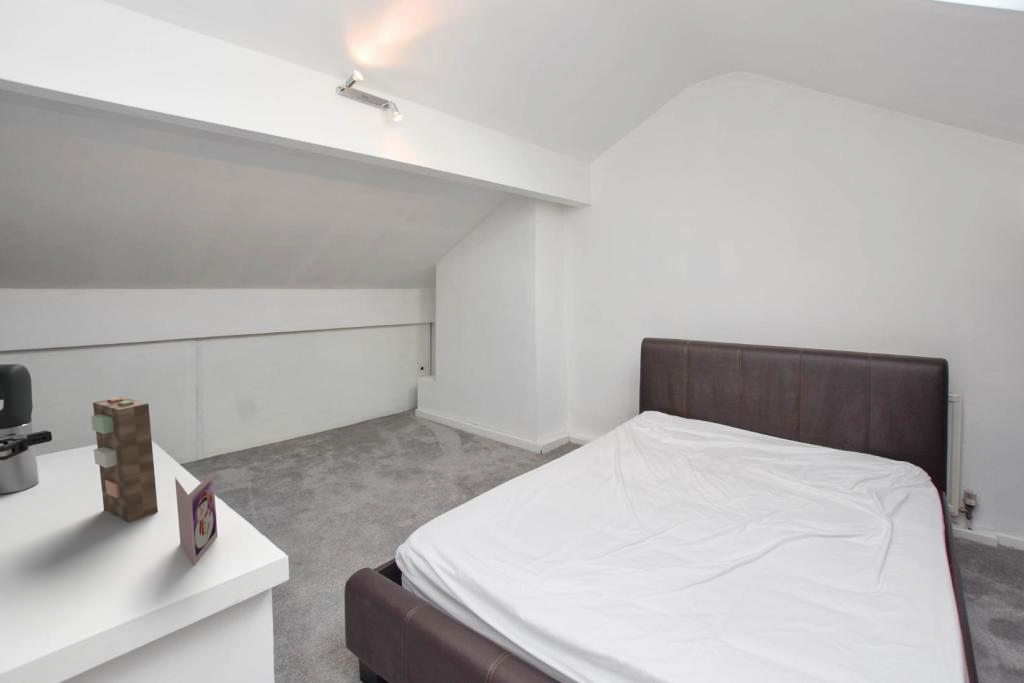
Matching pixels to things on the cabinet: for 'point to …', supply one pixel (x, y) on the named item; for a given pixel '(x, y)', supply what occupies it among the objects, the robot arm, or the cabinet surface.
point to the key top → (102, 423)
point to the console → (128, 459)
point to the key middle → (105, 457)
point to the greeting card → (197, 518)
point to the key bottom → (112, 488)
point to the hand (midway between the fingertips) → (50, 435)
